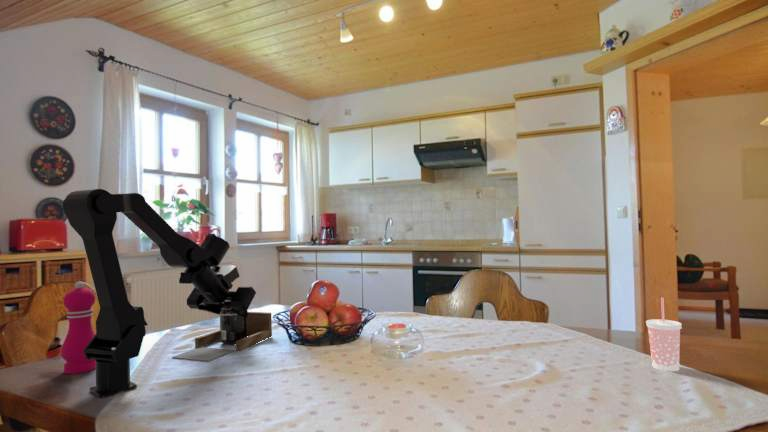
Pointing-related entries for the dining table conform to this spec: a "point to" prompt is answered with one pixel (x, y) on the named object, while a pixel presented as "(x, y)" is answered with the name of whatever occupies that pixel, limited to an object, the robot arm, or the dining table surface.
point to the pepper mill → (78, 330)
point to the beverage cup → (664, 342)
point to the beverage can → (231, 325)
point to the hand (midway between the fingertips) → (236, 315)
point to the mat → (203, 354)
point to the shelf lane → (256, 332)
